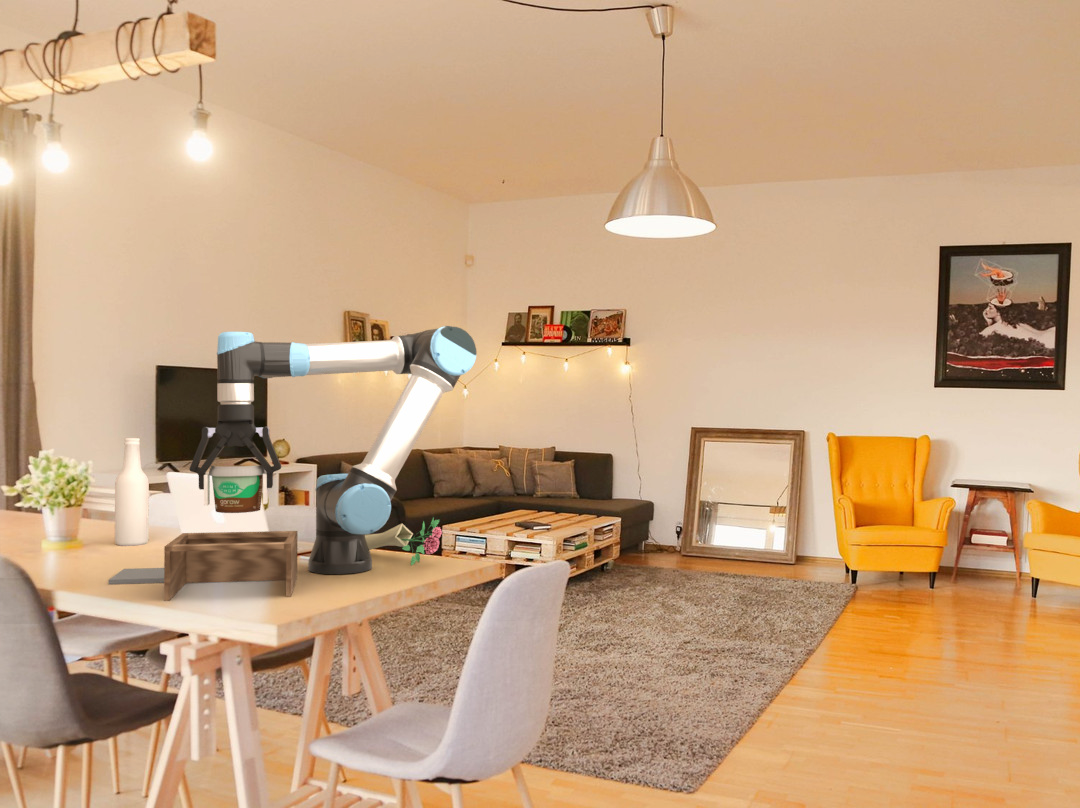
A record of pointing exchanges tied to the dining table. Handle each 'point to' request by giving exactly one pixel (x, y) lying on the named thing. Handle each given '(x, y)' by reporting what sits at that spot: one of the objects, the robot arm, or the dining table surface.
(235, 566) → the access cubby
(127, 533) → the alcohol
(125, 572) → the mat
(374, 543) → the flower vase
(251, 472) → the food container
